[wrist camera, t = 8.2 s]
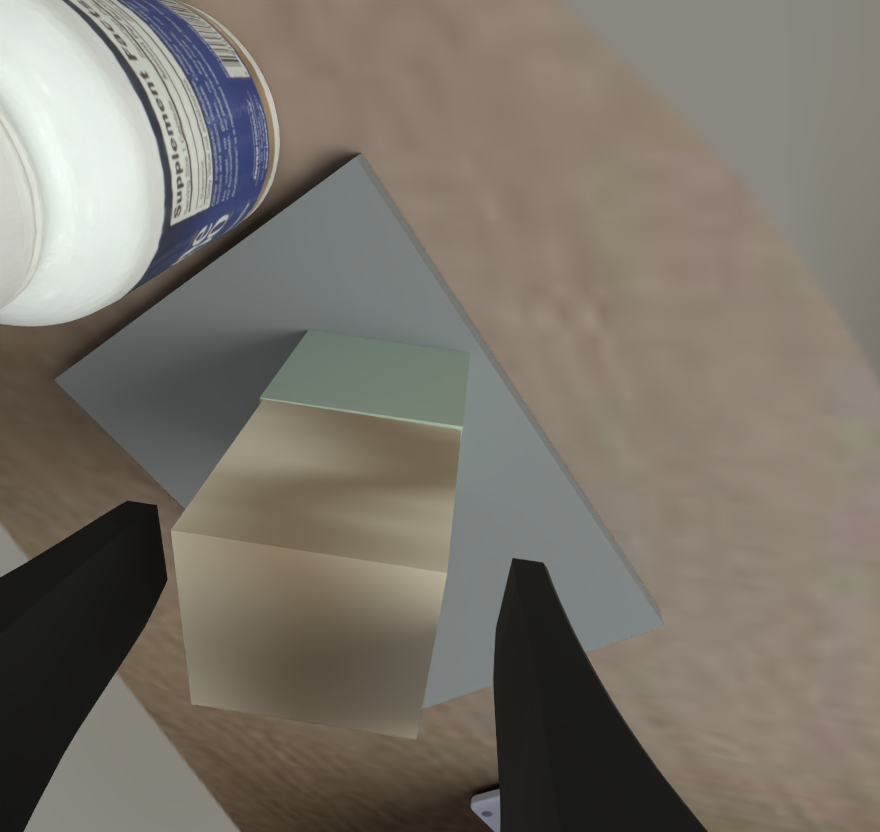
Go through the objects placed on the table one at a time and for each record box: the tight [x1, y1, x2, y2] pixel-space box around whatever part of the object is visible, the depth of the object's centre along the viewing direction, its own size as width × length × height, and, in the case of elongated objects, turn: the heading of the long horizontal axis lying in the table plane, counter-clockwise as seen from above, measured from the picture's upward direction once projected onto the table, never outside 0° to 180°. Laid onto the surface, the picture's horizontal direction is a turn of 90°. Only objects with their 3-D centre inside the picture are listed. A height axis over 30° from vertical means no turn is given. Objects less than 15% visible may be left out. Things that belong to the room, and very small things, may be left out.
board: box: [54, 153, 664, 709], centre depth 20 cm, size 18×12×1 cm, turn 33°
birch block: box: [171, 399, 461, 739], centre depth 13 cm, size 4×4×4 cm
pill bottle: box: [0, 0, 280, 326], centre depth 11 cm, size 5×5×10 cm
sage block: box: [260, 330, 470, 442], centre depth 16 cm, size 4×4×4 cm
